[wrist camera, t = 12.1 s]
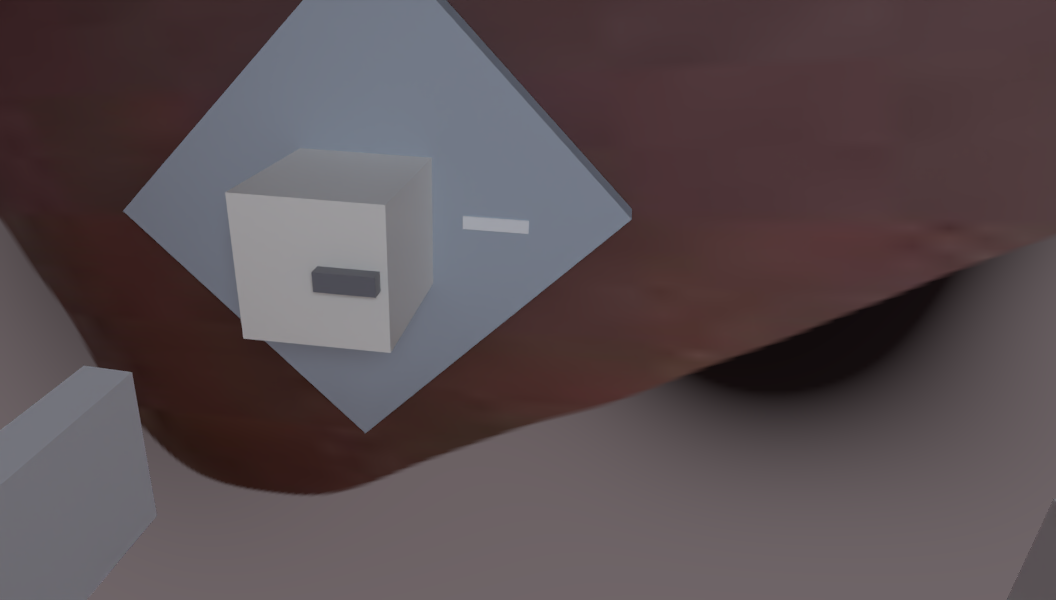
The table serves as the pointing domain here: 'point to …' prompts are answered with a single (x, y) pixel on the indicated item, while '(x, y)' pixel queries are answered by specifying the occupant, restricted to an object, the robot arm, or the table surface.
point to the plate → (395, 129)
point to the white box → (333, 248)
